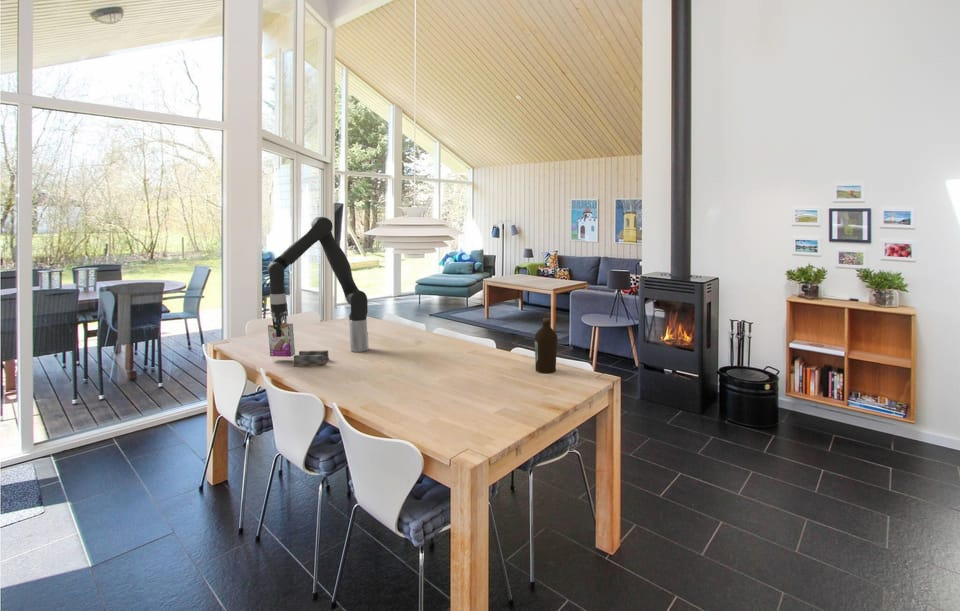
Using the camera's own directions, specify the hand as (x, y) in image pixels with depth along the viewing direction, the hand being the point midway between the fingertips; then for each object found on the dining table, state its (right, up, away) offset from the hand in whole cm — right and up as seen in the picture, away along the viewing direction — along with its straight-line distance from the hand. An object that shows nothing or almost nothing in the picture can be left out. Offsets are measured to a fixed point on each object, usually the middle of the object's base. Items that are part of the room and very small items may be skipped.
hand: (281, 335), depth 252 cm
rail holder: (+16, -14, -2) cm, 21 cm away
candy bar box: (0, -11, +2) cm, 11 cm away
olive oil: (+131, -16, -16) cm, 133 cm away
